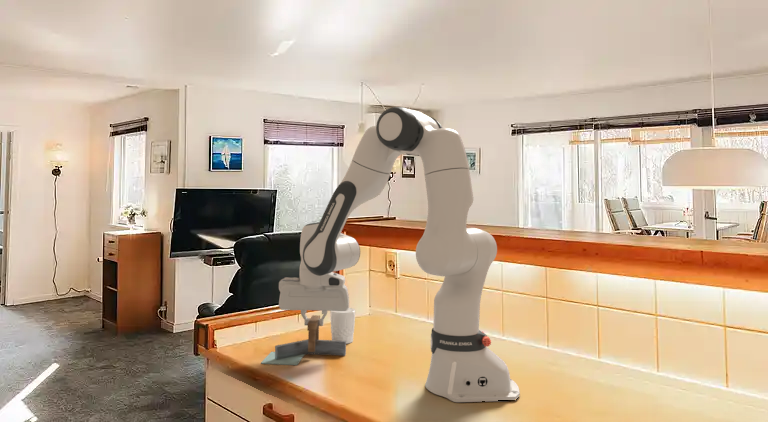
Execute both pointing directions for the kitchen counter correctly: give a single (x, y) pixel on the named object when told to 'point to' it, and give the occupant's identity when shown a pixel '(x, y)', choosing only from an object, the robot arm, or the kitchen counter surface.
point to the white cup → (343, 325)
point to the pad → (282, 360)
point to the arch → (313, 332)
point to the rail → (302, 348)
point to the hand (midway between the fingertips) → (313, 325)
